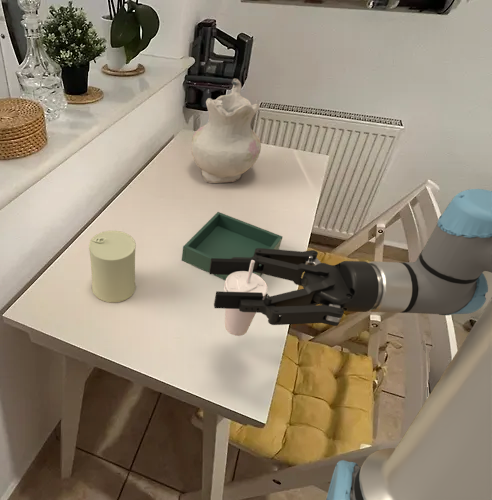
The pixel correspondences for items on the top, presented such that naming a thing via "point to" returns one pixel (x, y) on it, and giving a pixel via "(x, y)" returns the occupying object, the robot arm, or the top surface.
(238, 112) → the ceramic pitcher
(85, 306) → the top surface
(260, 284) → the smoothie
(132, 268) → the can
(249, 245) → the bin
